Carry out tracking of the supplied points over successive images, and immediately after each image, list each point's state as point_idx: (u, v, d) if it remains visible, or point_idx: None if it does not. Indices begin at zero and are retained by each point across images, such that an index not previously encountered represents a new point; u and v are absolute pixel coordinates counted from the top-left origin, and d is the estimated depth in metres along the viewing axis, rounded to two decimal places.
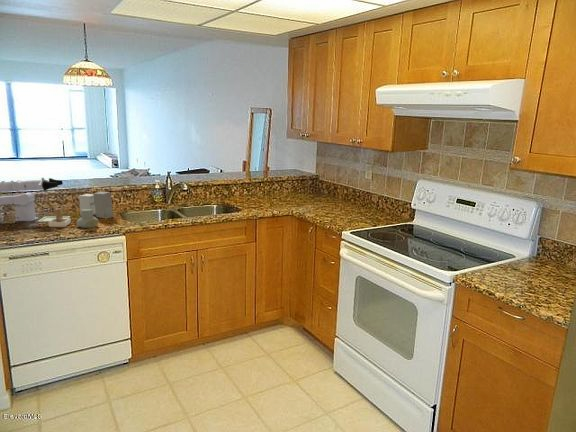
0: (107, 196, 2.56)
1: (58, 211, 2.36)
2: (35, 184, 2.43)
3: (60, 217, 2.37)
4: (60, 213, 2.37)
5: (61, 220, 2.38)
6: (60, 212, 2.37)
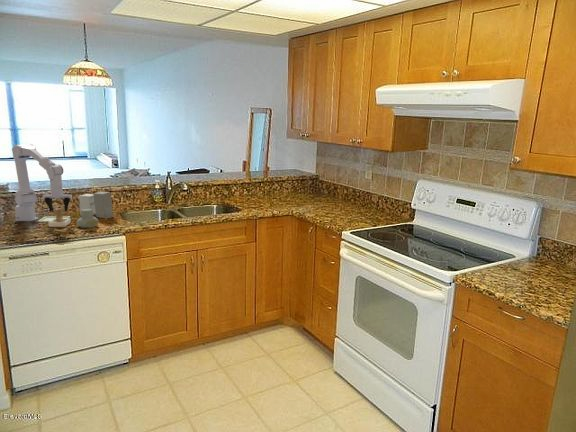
0: (107, 196, 2.56)
1: (58, 211, 2.36)
2: (51, 189, 2.34)
3: (60, 217, 2.37)
4: (60, 213, 2.37)
5: (61, 220, 2.38)
6: (60, 212, 2.37)
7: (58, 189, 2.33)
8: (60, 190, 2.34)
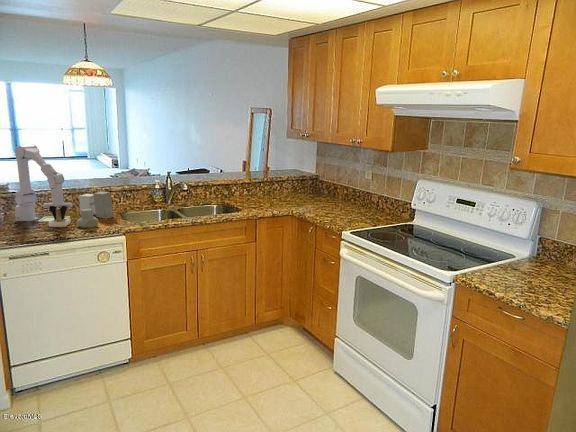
0: (107, 196, 2.56)
1: (58, 211, 2.36)
2: None
3: (60, 217, 2.37)
4: (60, 213, 2.37)
5: (61, 220, 2.38)
6: (60, 212, 2.37)
7: (59, 198, 2.34)
8: (61, 198, 2.35)
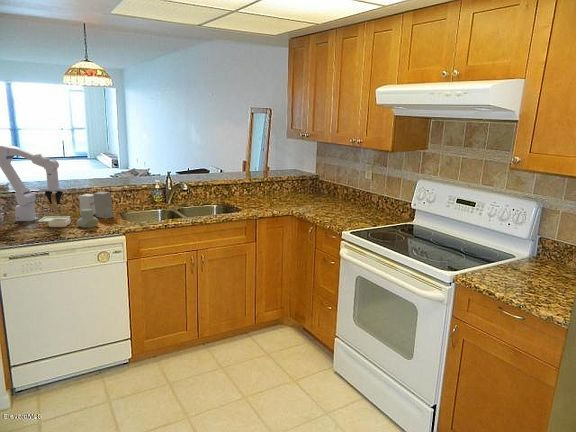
0: (107, 196, 2.56)
1: (54, 196, 2.45)
2: (47, 183, 2.44)
3: (55, 202, 2.46)
4: (55, 198, 2.46)
5: (56, 205, 2.47)
6: (55, 197, 2.46)
7: (54, 183, 2.43)
8: (56, 184, 2.44)
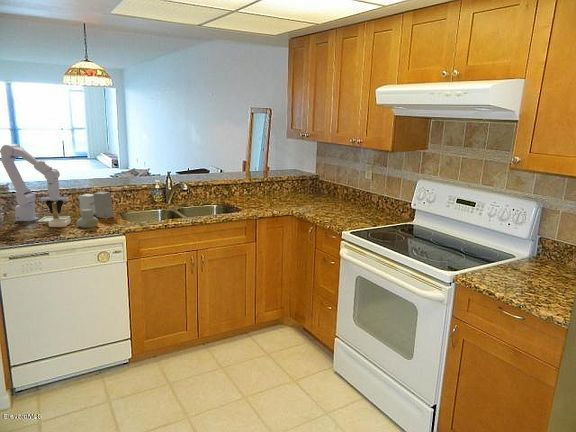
0: (107, 196, 2.56)
1: (54, 205, 2.46)
2: (48, 192, 2.45)
3: (56, 211, 2.48)
4: (56, 207, 2.47)
5: (57, 214, 2.48)
6: (56, 206, 2.47)
7: (55, 192, 2.44)
8: (57, 193, 2.45)
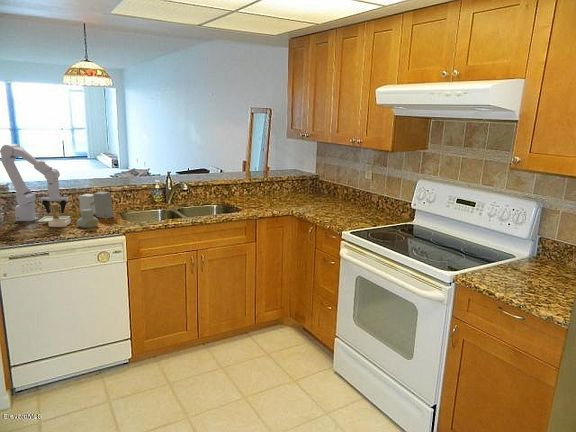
0: (107, 196, 2.56)
1: (55, 207, 2.47)
2: (48, 192, 2.45)
3: (56, 212, 2.48)
4: (56, 208, 2.47)
5: (57, 215, 2.49)
6: (56, 207, 2.47)
7: (55, 192, 2.44)
8: (57, 193, 2.45)
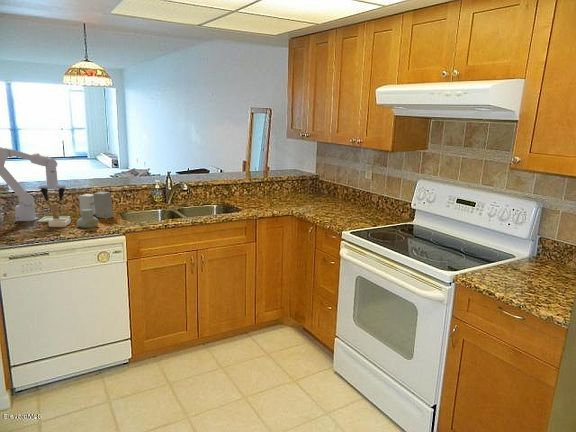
0: (107, 196, 2.56)
1: (55, 207, 2.47)
2: None
3: (57, 212, 2.48)
4: (56, 208, 2.48)
5: (57, 215, 2.49)
6: (56, 207, 2.47)
7: (53, 180, 2.52)
8: (55, 181, 2.53)
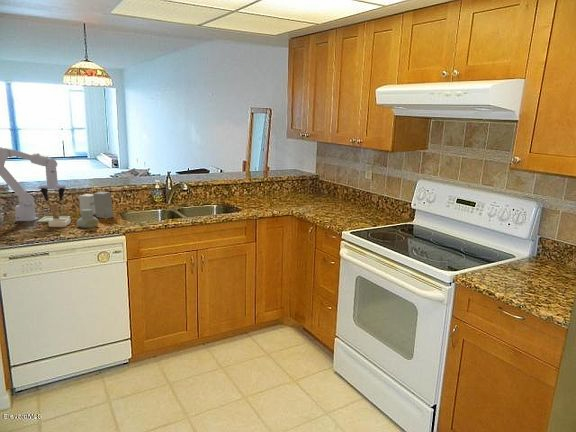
0: (107, 196, 2.56)
1: (55, 206, 2.47)
2: None
3: (57, 212, 2.48)
4: (57, 208, 2.48)
5: (57, 215, 2.49)
6: (57, 207, 2.48)
7: (53, 180, 2.52)
8: (55, 181, 2.53)
